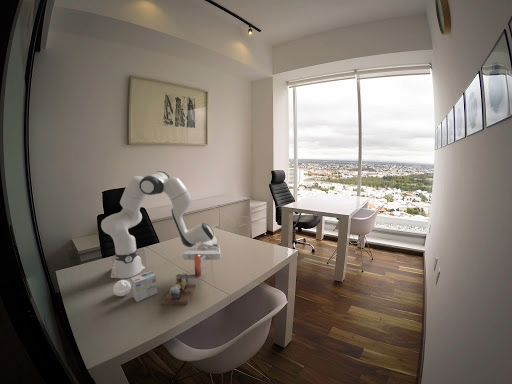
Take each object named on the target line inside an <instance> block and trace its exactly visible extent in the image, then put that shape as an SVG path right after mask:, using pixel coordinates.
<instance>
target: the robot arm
mask: <svg viewBox="0 0 512 384" xmlns="http://www.w3.org/2000/svg"><path fill="white" fill-rule="evenodd" d="M162 193H165V194H166V195H167V197H168V198H169V200H170V202H171V205H172V209H171V210H170V211H171V215H172V219H173V221H174V224H175V226H176V229H177V231H178V233H179V236H180V241H181V243H182V245H183V246H184V247H187V248H188V249H186V250H185V251H184V252H183V253H182V259H183V260H185V261H186V260H188V261H192V260H193V261H194V255H195V254H200V262H201V263H202V262H203V261H219V260H221V256H222V252H221V245H220V244H218V240H217V237H216V236H215V234H214V230H213V228H212V227H211V226H210V225H209V224H207V223H205V222H202V223H200V224H198V225H196V226H194V227H192V228H190V229H187V226H186V223H185V221H184V219H183V217H184V213H185V212H186V211H187V209H189V208H190V206H191V204H192V201H193V200H192V196H191V193H190V192H189V190H188V189H187V187H186V186H185V184H184V183H183V181H182V180H180V178H178V177H177V176H173V177H170V175H169V174H168V173H167V172H165V171H162V170H161V171H160V170H159V171H156V172H153V173H150V174H148V175H146V176H140V175H135V176H132V177H131V179H130V180H129V181H128V183H127V185H126V187H125V189H124V190H123V193H122V196H121V198H120V201H119V204H120V206H121V207H122V209H121V210H120V212H117V213H113V214H110V215H109V216H106V217H105V218H104V219H102V220H101V223H100V227H101V230H102V231H103V232H104V234H107V235H109V236H110V237H111V238H112V240H113V243H114V250H115V254H114V258H115V260H114V262H112V263H111V267H112V268H111V272H110V278H111V279H129V278H132V277H135V276H138V275H139V274H140V273H141V272H142V271H143V270H144V269H146V268H145V266H144V265H143V264H142V259H141V257H140V256H139V255H138V253H139V251H138V249H137V243H136V238H135V236H134V235H132V234H130V232H129V229H131V228H133V227H135V226H137V225H138V224H140V223H141V221H142V219H143V215H142V213H141V211H140V210H141V206H142V204H143V201H144V199H145V197H146V195H147V196H154V195H159V194H162ZM199 243H200V244H199ZM197 244H198V247H197V248H192V247H195V245H197Z"/></svg>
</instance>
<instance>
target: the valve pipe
mask: <svg viewBox="0 0 512 384" xmlns="http://www.w3.org/2000/svg"><path fill="white" fill-rule="evenodd" d="M180 274H181V275H188V273H186V272H182V273H180ZM188 280H189V278H182V279H181V280H176V277H175V278H174V279H173V281H172V287H171V288H170V289H169V292H168V293H170V295H171V299H172V300H180V298H181V291H183V290H184V288H187V286H188V284H189V282H188Z"/></svg>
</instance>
